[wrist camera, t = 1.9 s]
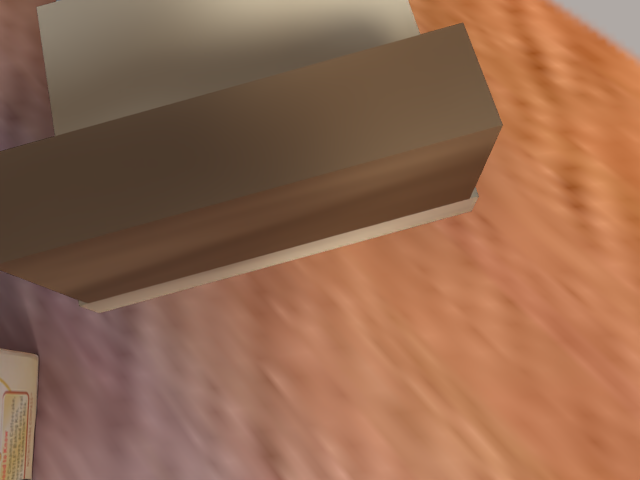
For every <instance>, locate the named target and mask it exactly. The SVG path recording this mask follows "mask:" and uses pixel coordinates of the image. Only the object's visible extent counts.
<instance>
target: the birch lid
mask: <svg viewBox="0 0 640 480" xmlns="http://www.w3.org/2000/svg"><path fill="white" fill-rule="evenodd" d="M37 14H38V21H39V28H40V35H41V42H42V49H43V56H44V63H45V70H46V77H47V84H48V91H49V98H50V105H51V112H52V119H53V126H54V133H55V136H53V137H50V138H46V139H43V140H39V141H35V142H32V143H28V144H25V145H21V146H17V147H14V148H10V149H7V150H3V151H0V270H1V271H4V272H6V273H9V274H11V275H14V276H17V277H19V278H22V279H25V280H27V281H30V282H32V283H35V284H38V285H40V286H43V287H46V288H48V289H51V290H53V291H56V292H59V293H61V294H64V295H67V296H69V297H72V298H74V299H77V300H78V302H79V306H80V307H83V308H86V309H89V310H91V311H94V312H97V313H102V312H106V311H109V310H113V309H117V308H120V307H124V306H127V305H131V304H135V303H138V302H142V301H146V300H149V299H153V298H157V297H160V296H164V295H168V294H171V293H175V292H178V291H182V290H186V289H189V288H193V287H197V286H200V285H204V284H208V283H211V282H215V281H219V280H222V279H226V278H229V277H233V276H237V275H240V274H244V273H248V272H251V271H255V270H259V269H262V268H266V267H270V266H273V265H277V264H281V263H284V262H288V261H291V260H295V259H299V258H302V257H306V256H310V255H313V254H317V253H321V252H324V251H328V250H332V249H335V248H339V247H342V246H346V245H350V244H353V243H357V242H361V241H364V240H368V239H372V238H375V237H379V236H383V235H386V234H390V233H394V232H397V231H401V230H404V229H408V228H412V227H415V226H419V225H423V224H426V223H430V222H434V221H437V220H441V219H445V218H448V217H452V216H455V215H459V214H463V213H466V212H470V211H472V209H473V207H474V205H475V203H476V201H477V199H478V197H479V196H478V193H477V190H476V187H475V186H476V184H477V181H478V179H479V177H480V175H481V172H482V170H483V168H484V166H485V164H486V161H487V159H488V157H489V155H490V152H491V150H492V148H493V146H494V143H495V141H496V139H497V137H498V134H499V132H500V130H501V128H502V125H503V124H502V122H501V119H500V116H499V114H498V111H497V109H496V106H495V104H494V101H493V98H492V96H491V93H490V91H489V88H488V85H487V83H486V80H485V78H484V75H483V73H482V70H481V67H480V65H479V62H478V60H477V57H476V55H475V52H474V49H473V47H472V44H471V42H470V39H469V36H468V34H467V31H466V29H465V26H464V24H463V23H460V24H456V25H453V26H449V27H446V28H442V29H438V30H435V31H431V32H428V33H424V34H420V32H419V29H418V27H417V24H416V21H415V18H414V16H413V13H412V10H411V7H410V4H409V2H408V0H60V1H56V2H53V3H49V4H46V5H42V6H39V7H37Z"/></svg>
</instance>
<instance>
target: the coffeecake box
mask: <svg viewBox="0 0 640 480" xmlns="http://www.w3.org/2000/svg"><path fill="white" fill-rule="evenodd" d="M38 365H39V358H38V356H37V355H36V354H32V353H26V352H19V351H13V350H7V349H1V348H0V480H21V479H31V480H32V460H33V444H34V429H35V421H36V411H37V390H38Z"/></svg>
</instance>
